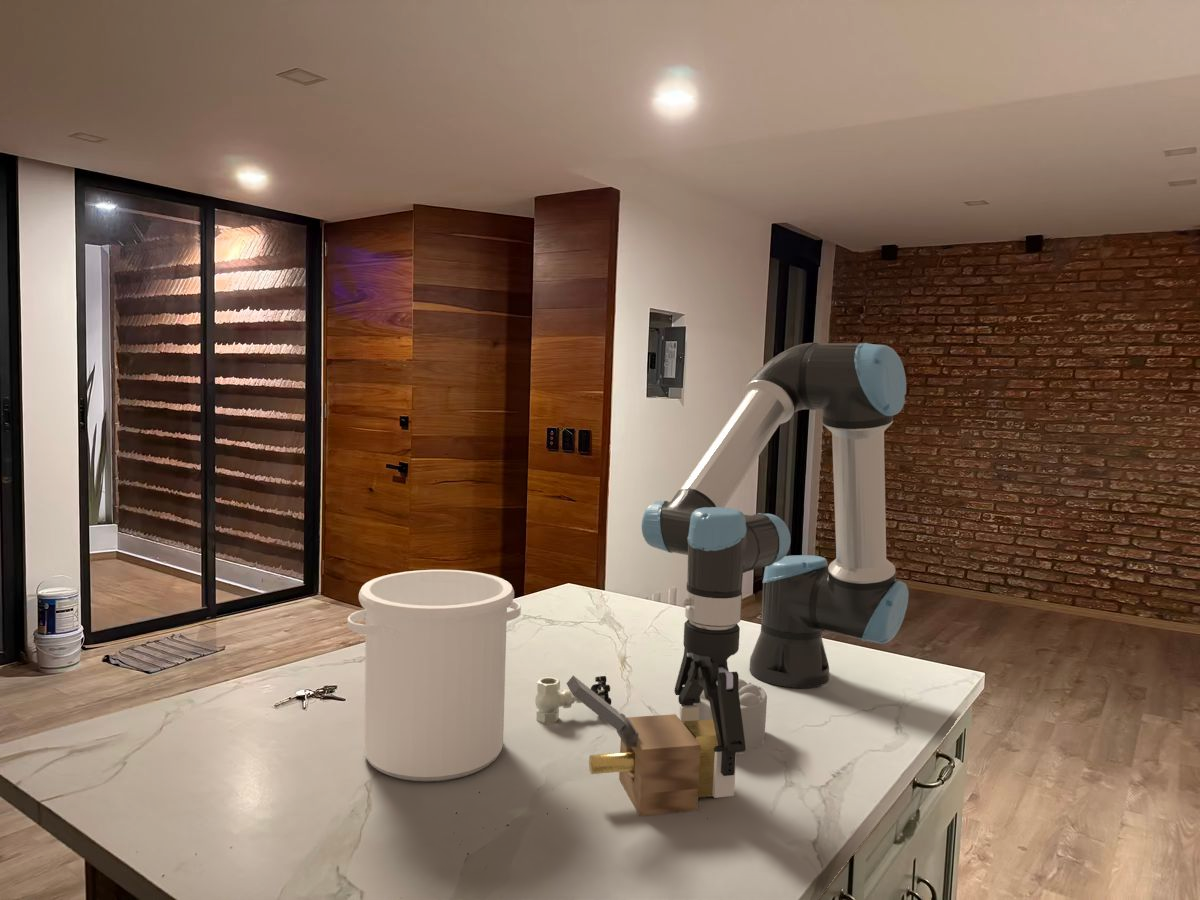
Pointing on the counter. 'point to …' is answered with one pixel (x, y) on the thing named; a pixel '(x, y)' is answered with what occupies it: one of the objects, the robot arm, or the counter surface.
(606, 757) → the pin
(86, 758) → the counter surface
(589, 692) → the lever
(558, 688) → the valve
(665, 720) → the block
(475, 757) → the bucket
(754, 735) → the lumpy-topped squat cylinder
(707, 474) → the robot arm
